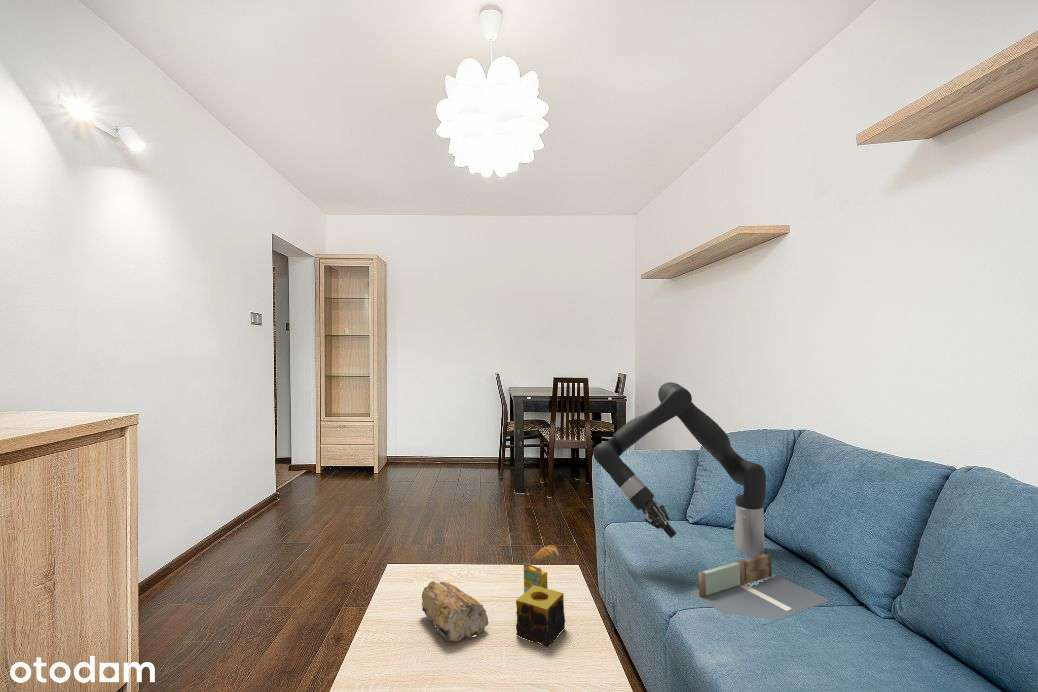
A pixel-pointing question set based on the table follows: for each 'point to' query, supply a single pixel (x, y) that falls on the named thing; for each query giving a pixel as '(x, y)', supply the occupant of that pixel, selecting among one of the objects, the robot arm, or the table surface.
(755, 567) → the walnut fence
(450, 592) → the petrified wood
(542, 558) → the pastry
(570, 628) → the table surface
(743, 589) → the card
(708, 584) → the green panel
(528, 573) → the crayon box
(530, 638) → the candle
